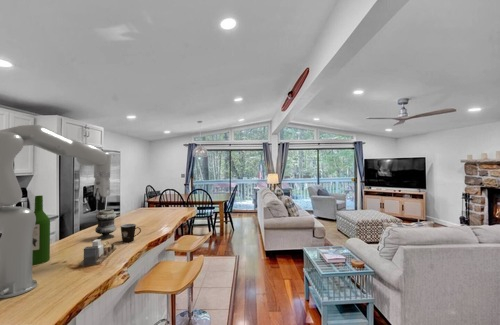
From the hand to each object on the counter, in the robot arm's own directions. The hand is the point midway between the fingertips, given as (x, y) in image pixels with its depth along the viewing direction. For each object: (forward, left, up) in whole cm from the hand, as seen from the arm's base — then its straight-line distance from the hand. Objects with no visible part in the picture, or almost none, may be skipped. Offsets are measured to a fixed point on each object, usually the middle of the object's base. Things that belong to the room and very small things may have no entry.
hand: (101, 209), depth 130 cm
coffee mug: (+22, -8, -24) cm, 34 cm away
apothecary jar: (+34, +10, -24) cm, 43 cm away
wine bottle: (-4, +27, -24) cm, 36 cm away
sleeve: (-6, 0, -22) cm, 23 cm away
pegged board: (-2, 0, -24) cm, 24 cm away
